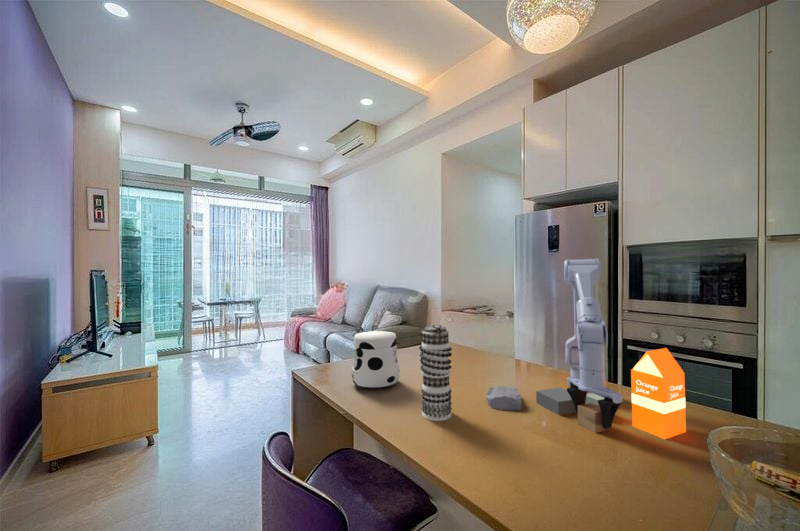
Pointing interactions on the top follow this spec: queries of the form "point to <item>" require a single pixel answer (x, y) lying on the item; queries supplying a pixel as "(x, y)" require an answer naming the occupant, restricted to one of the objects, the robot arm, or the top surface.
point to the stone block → (504, 398)
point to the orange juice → (658, 395)
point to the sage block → (593, 398)
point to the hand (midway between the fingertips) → (593, 421)
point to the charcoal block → (556, 400)
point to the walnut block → (590, 417)
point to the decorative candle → (435, 373)
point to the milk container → (375, 360)
